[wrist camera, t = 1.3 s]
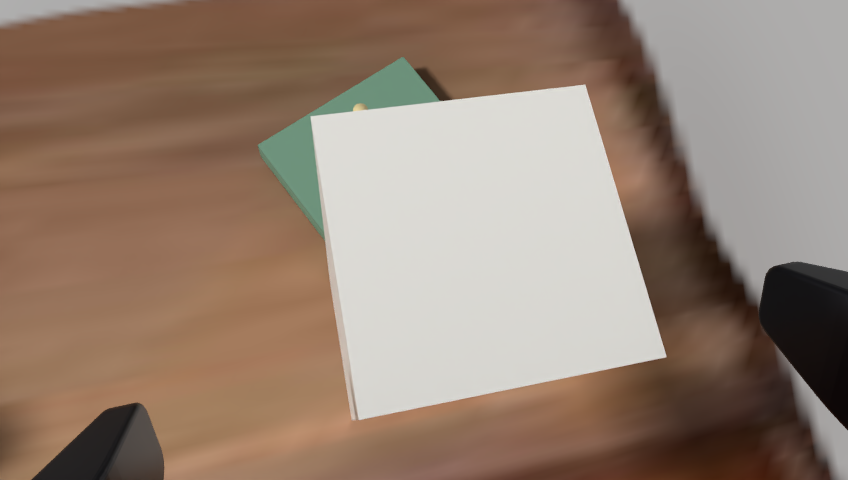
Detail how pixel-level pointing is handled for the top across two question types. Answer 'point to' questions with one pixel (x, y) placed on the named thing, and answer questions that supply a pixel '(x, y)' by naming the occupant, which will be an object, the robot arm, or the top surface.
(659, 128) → the top surface
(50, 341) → the top surface
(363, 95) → the header board
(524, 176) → the white tall block
